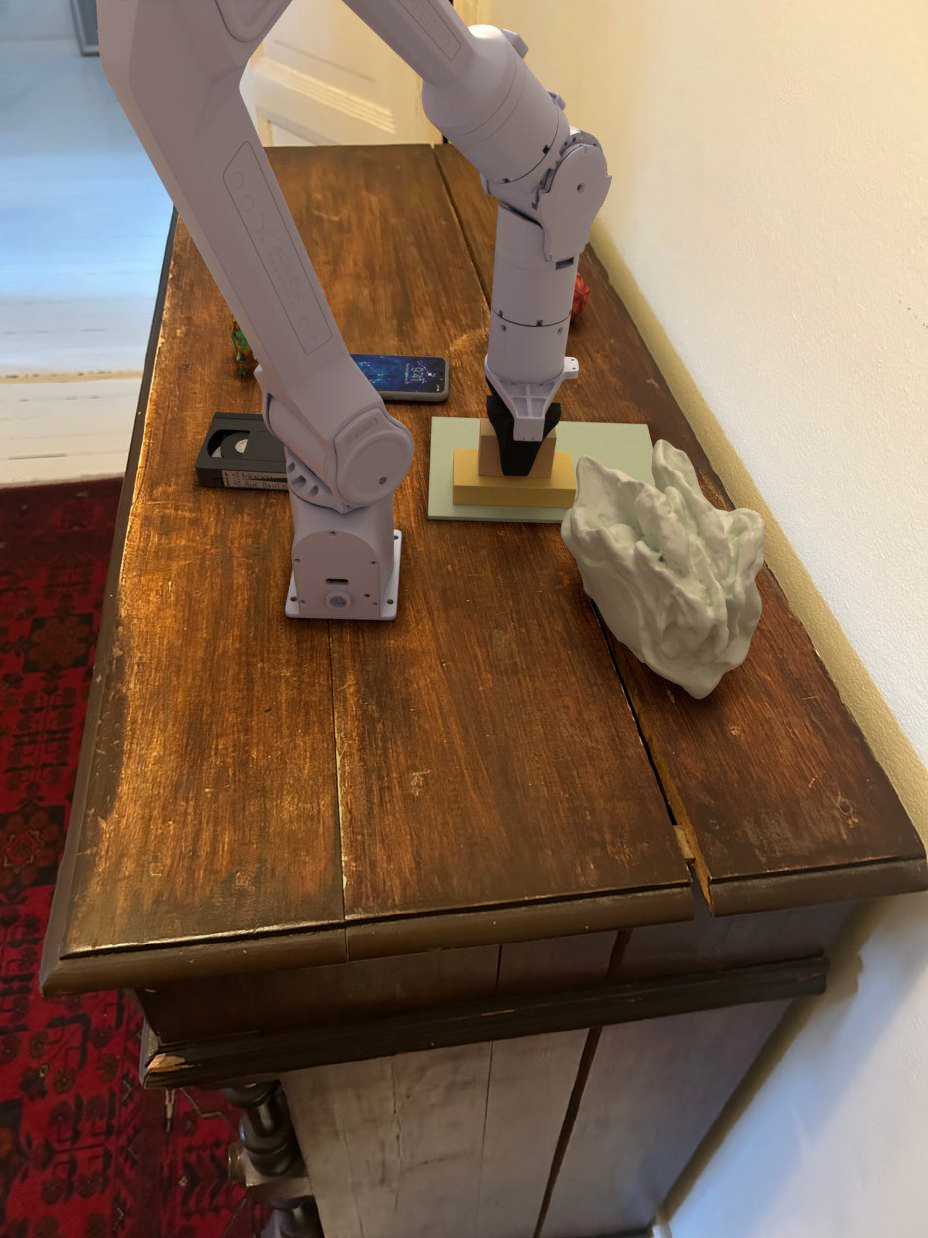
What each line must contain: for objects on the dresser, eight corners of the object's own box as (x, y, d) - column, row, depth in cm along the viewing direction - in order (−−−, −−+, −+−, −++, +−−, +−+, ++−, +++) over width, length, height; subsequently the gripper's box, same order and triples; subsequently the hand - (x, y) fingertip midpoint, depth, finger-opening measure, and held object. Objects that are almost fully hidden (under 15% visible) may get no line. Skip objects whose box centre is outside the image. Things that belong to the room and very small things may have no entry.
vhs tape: (197, 486, 72) (193, 466, 71) (218, 430, 78) (215, 411, 76) (368, 495, 72) (367, 476, 71) (378, 439, 78) (377, 420, 76)
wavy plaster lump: (580, 638, 71) (543, 455, 66) (739, 605, 70) (716, 416, 64) (609, 757, 55) (563, 527, 49) (818, 718, 54) (797, 477, 48)
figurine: (233, 392, 82) (219, 311, 76) (236, 327, 90) (223, 249, 84) (267, 390, 82) (255, 310, 76) (266, 326, 90) (256, 249, 84)
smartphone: (297, 349, 86) (449, 355, 86) (298, 358, 86) (449, 364, 87) (286, 389, 80) (448, 395, 81) (287, 398, 81) (448, 404, 82)
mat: (670, 527, 71) (672, 523, 71) (427, 519, 71) (427, 515, 70) (646, 427, 81) (647, 424, 81) (431, 419, 80) (431, 416, 80)
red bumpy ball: (562, 322, 98) (606, 325, 92) (512, 325, 95) (553, 329, 89) (563, 261, 96) (608, 260, 89) (512, 262, 93) (554, 261, 86)
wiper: (573, 508, 72) (583, 448, 67) (452, 504, 71) (455, 444, 67) (568, 470, 75) (578, 411, 71) (452, 467, 75) (455, 407, 70)
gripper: (598, 363, 57) (570, 521, 67) (578, 262, 66) (556, 413, 76) (490, 359, 56) (478, 518, 66) (486, 258, 66) (476, 410, 76)
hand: (514, 462), depth 71 cm, fingers closed on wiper, 2 cm apart
